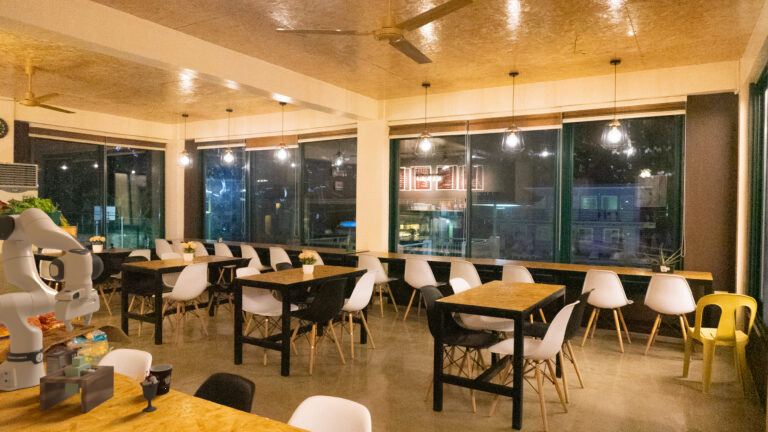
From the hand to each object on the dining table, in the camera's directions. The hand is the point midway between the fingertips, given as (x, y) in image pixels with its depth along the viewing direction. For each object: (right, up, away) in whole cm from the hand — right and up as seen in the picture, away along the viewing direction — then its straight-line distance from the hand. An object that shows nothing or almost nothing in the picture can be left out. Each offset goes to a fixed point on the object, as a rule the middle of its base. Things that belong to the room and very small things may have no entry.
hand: (78, 328), depth 187 cm
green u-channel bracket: (0, -24, 0) cm, 24 cm away
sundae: (+29, -29, -5) cm, 42 cm away
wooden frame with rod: (0, -29, 0) cm, 29 cm away
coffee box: (-14, -29, +11) cm, 34 cm away
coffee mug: (+25, -29, +12) cm, 40 cm away
